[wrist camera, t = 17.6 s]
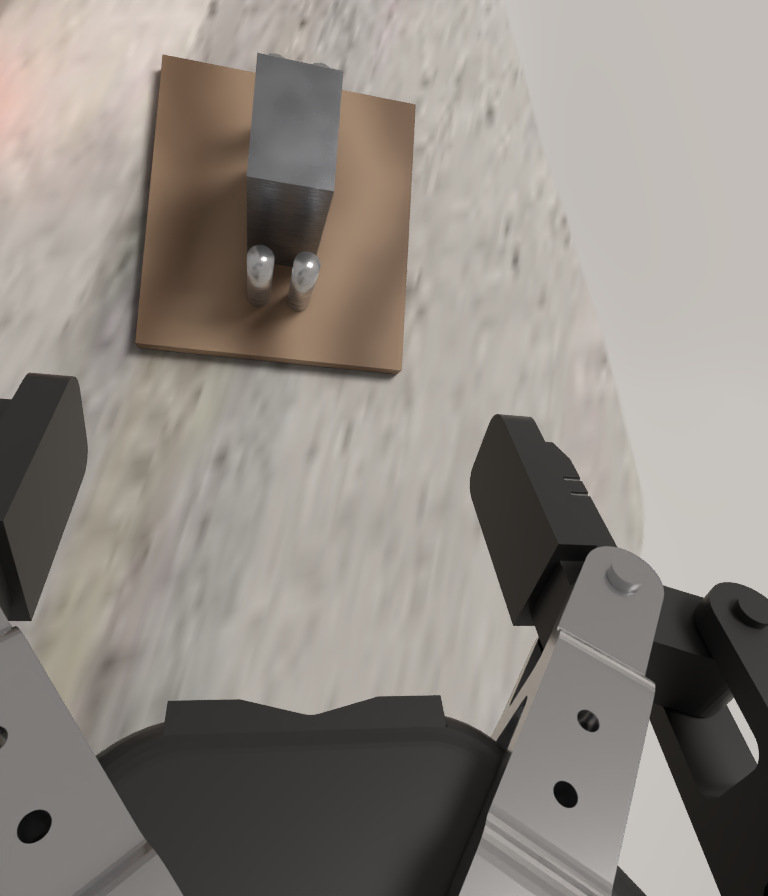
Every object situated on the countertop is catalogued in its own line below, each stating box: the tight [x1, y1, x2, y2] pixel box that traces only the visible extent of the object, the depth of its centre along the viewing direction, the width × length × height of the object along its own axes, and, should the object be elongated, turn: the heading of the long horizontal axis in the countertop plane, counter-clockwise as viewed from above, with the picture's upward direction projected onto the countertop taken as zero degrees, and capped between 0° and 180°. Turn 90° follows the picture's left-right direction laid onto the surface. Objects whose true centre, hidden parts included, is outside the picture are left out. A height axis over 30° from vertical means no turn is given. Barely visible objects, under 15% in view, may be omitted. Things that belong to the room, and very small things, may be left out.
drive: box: [247, 53, 343, 267], centre depth 33 cm, size 4×6×10 cm, turn 177°
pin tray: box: [135, 54, 415, 374], centre depth 36 cm, size 16×18×7 cm
